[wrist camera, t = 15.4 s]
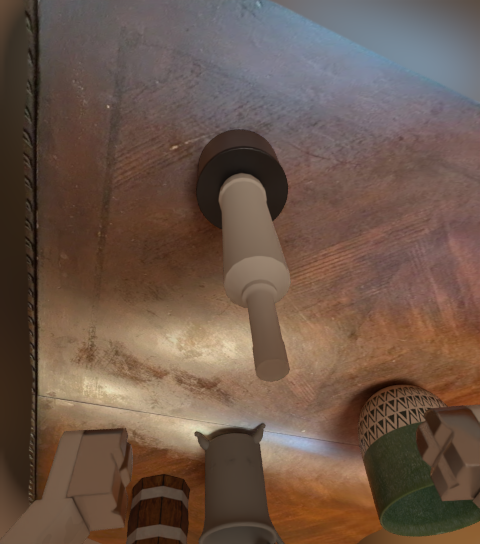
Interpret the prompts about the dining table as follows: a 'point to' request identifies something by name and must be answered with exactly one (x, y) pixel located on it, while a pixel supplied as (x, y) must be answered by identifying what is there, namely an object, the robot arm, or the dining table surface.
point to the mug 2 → (235, 491)
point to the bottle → (255, 269)
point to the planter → (405, 466)
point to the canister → (239, 171)
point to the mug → (159, 511)
